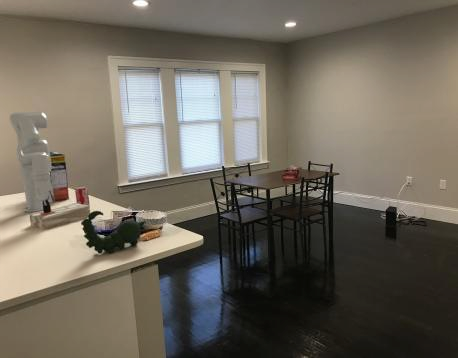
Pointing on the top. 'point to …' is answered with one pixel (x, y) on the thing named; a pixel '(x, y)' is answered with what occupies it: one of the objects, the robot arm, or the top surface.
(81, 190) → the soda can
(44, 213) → the red plunger
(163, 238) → the top surface
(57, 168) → the cereal box
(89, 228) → the toy figurine
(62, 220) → the console
